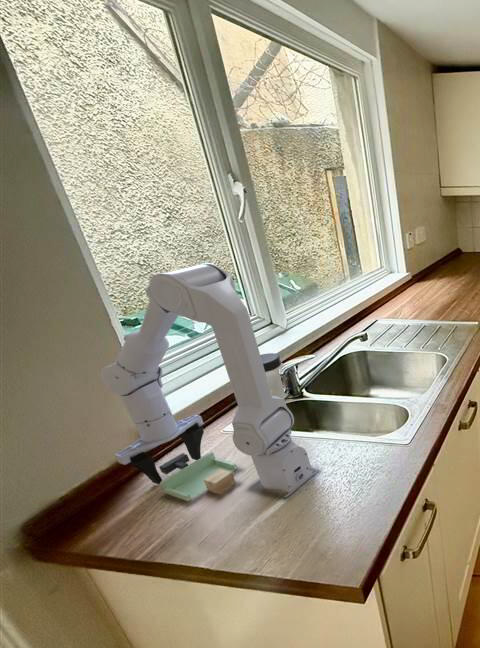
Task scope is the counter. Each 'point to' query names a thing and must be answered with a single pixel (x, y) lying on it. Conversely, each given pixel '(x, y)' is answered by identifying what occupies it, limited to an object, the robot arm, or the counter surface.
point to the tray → (191, 474)
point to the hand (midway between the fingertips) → (177, 470)
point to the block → (219, 481)
